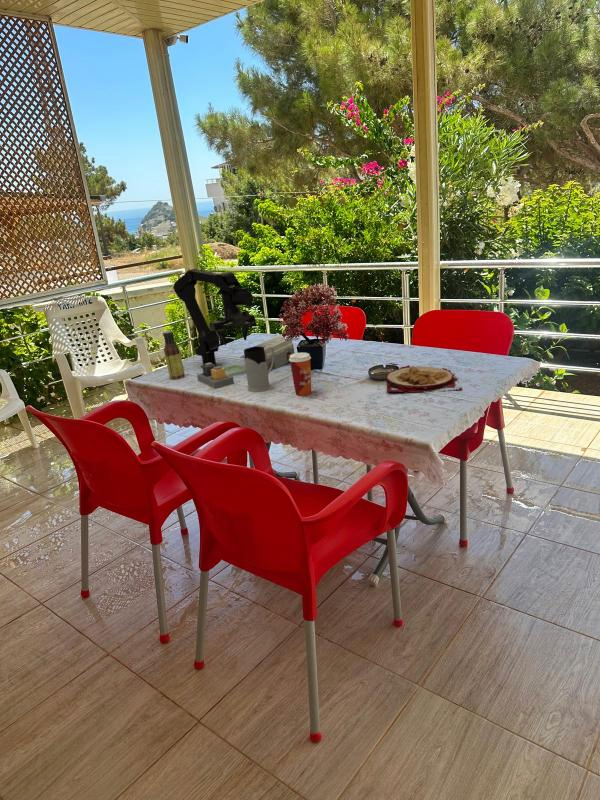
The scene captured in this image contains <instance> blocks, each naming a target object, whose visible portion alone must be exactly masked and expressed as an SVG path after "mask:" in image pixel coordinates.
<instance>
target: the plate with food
mask: <svg viewBox="0 0 600 800" xmlns="http://www.w3.org/2000/svg"><path fill="white" fill-rule="evenodd" d="M388 365H392V366H393V368H394V367H395V366H399V364H398V363H392V362H389V363H388ZM397 369H398V370H397ZM453 371H454V370H450V369H447V368H444V367H443V368H440V367H433V366H414V365H412V366H411V365H410V364H408V365H406V366H401V367H400V366H399V368H396V370H393V371H391V372H389V373H388V374H387V375H386V374H385V377H386V378H385V379H386V392H389V393H404V394H405V393H407V394H408V393H421V392H422V393H423V394H424V393H426V392H434V391H438V390H440V391H439V393H441V392H442V389H449V388H450V389H449V390H444V392H449V391H451V390H452V391H455V388H456V386H457V384H456V382H457V383H458V384H459V383H460V381H459V379H458V378H455V376H456V373H455V372H454V373H453ZM392 387H393V388H395V389H392ZM452 388H453V389H452ZM462 389H463V387H462V386H459V387H458V388H456V391H459V390H462Z"/></svg>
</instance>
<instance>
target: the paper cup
mask: <svg viewBox="0 0 600 800" xmlns="http://www.w3.org/2000/svg"><path fill="white" fill-rule="evenodd" d="M311 359H312V357H311V355H310V353H309V352H295V354H292V355H290V358H289V361H290V362H289V363H290V369H291V374H292V381H293V388H294V393H295V395H296V396H299V397H303V396H305V397H306V396H309V395H310V394H311V393H312V375H311V374H312V373H311V371H312V369H311Z"/></svg>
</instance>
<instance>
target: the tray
mask: <svg viewBox="0 0 600 800" xmlns="http://www.w3.org/2000/svg"><path fill="white" fill-rule="evenodd" d="M222 368H224V369H225V374H226V375H229V376H231V377H234V376H237V375H238V376H239V375H241V374H245V373H246V366H244V365H242V364H239V363H233V364H231V365H226V366H223V367H222Z"/></svg>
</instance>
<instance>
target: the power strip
mask: <svg viewBox="0 0 600 800" xmlns="http://www.w3.org/2000/svg"><path fill="white" fill-rule="evenodd" d="M196 376H197V377H196V378H197V381H198V382H200V383H202V384H205V385H206V386H209V387H211V388H213V389H215V390H216V389H220V388H223V387H226V386H230V385H233V384H235V381H234V376H229V375H226V378H224V379H221V380H217V381H215V380H213V379H212V376H208V377H206V376H204V374H203V372H201V373H197V374H196Z"/></svg>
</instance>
